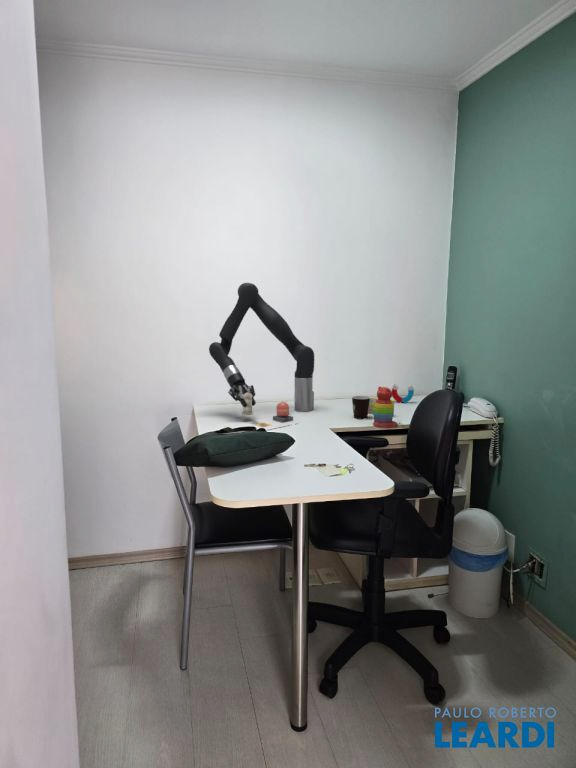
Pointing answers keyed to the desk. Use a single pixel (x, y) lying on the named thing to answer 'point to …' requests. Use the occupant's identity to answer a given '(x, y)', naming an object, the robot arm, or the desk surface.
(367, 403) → the coffee mug
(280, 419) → the game board
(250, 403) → the pawn
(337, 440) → the desk surface
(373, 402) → the candy box
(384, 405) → the stacking bear
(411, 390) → the magnet
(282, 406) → the dome
